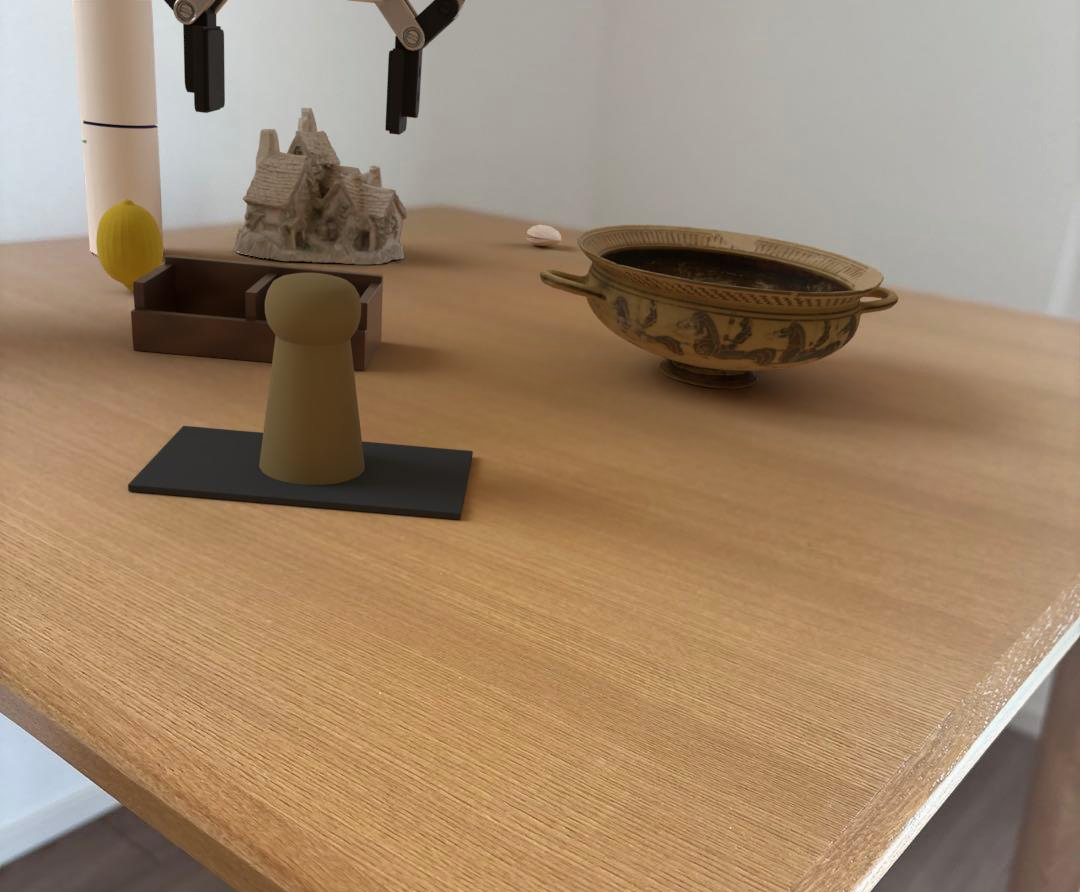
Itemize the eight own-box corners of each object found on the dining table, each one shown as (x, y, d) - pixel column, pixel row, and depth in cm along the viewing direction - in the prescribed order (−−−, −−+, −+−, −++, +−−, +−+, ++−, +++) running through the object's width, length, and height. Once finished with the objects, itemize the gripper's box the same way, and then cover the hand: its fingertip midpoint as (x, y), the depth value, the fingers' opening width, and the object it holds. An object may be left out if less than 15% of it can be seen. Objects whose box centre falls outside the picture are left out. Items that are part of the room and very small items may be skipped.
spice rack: (132, 350, 85) (128, 277, 83) (170, 322, 93) (167, 254, 91) (364, 371, 85) (366, 298, 83) (381, 340, 94) (383, 274, 91)
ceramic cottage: (212, 245, 122) (218, 98, 116) (321, 238, 135) (331, 105, 129) (315, 281, 115) (328, 127, 109) (420, 270, 128) (436, 132, 122)
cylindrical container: (121, 262, 112) (103, -18, 101) (74, 250, 115) (53, -23, 105) (178, 255, 117) (167, -12, 107) (132, 243, 121) (117, -17, 110)
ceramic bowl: (562, 418, 79) (577, 275, 75) (506, 330, 100) (515, 215, 96) (949, 427, 85) (982, 295, 81) (819, 343, 107) (840, 235, 103)
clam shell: (544, 242, 144) (546, 222, 143) (571, 249, 141) (573, 229, 140) (519, 244, 141) (521, 223, 140) (546, 251, 138) (548, 230, 137)
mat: (127, 491, 61) (127, 484, 61) (183, 431, 70) (183, 425, 70) (460, 519, 61) (460, 513, 61) (472, 456, 71) (472, 450, 70)
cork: (332, 493, 62) (334, 294, 58) (237, 471, 64) (233, 276, 59) (383, 460, 67) (389, 275, 63) (294, 441, 69) (294, 259, 65)
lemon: (139, 301, 98) (134, 206, 95) (86, 291, 100) (79, 198, 97) (177, 290, 103) (173, 200, 100) (126, 281, 105) (120, 192, 101)
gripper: (503, -237, 55) (474, 133, 62) (146, -281, 54) (158, 97, 62) (495, -273, 48) (464, 147, 55) (86, -324, 48) (108, 107, 55)
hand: (303, 121), depth 58 cm, fingers open, 9 cm apart
